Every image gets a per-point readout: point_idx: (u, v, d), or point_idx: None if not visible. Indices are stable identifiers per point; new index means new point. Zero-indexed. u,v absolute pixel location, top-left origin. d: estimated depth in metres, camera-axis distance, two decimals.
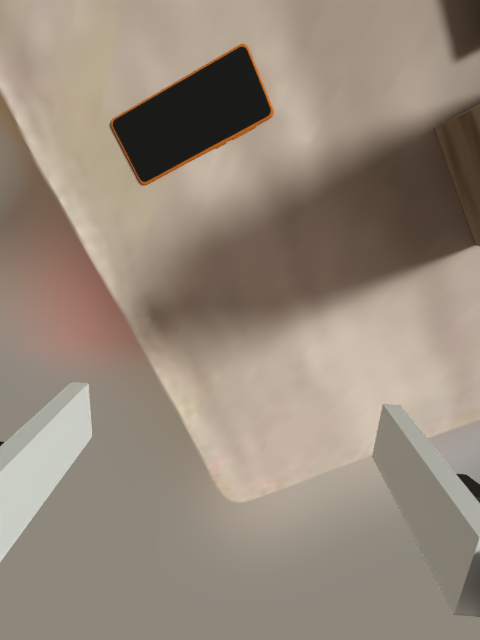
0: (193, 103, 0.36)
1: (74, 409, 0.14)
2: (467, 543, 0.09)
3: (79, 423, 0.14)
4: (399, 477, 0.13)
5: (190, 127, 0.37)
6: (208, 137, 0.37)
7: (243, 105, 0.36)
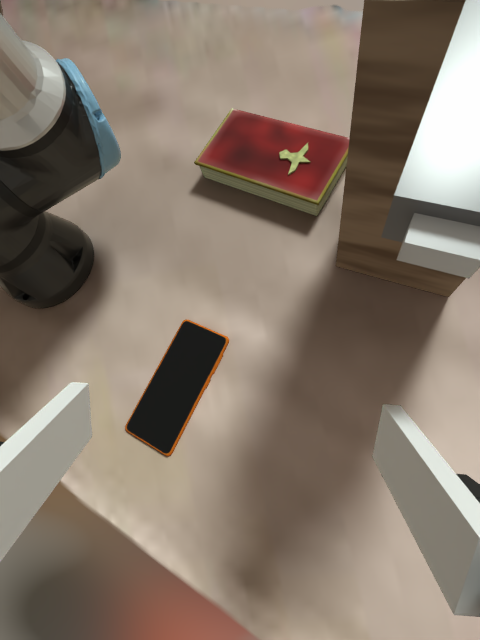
0: (173, 373, 0.45)
1: (74, 409, 0.14)
2: (467, 543, 0.09)
3: (79, 423, 0.14)
4: (399, 477, 0.13)
5: (180, 388, 0.44)
6: (196, 385, 0.44)
7: (206, 349, 0.45)
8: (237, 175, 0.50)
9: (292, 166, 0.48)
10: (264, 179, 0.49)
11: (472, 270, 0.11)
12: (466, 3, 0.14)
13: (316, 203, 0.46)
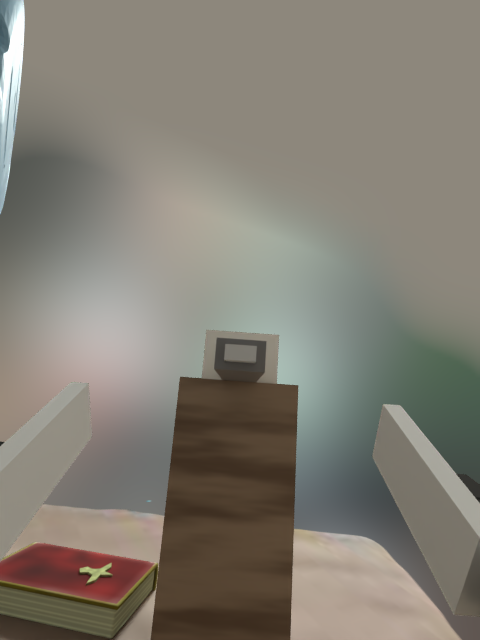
0: None
1: (74, 409, 0.14)
2: (467, 543, 0.09)
3: (79, 423, 0.14)
4: (399, 477, 0.13)
5: None
6: None
7: None
8: (22, 585, 0.43)
9: (92, 577, 0.45)
10: (56, 588, 0.42)
11: (254, 354, 0.26)
12: None
13: (115, 607, 0.40)
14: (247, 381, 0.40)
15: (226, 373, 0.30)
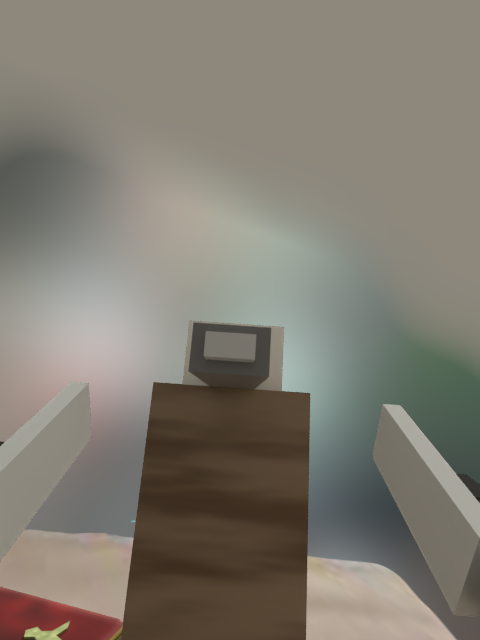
0: None
1: (74, 409, 0.14)
2: (467, 543, 0.09)
3: (79, 423, 0.14)
4: (399, 477, 0.13)
5: None
6: None
7: None
8: None
9: None
10: None
11: (253, 348, 0.16)
12: None
13: None
14: (242, 388, 0.30)
15: (211, 378, 0.21)
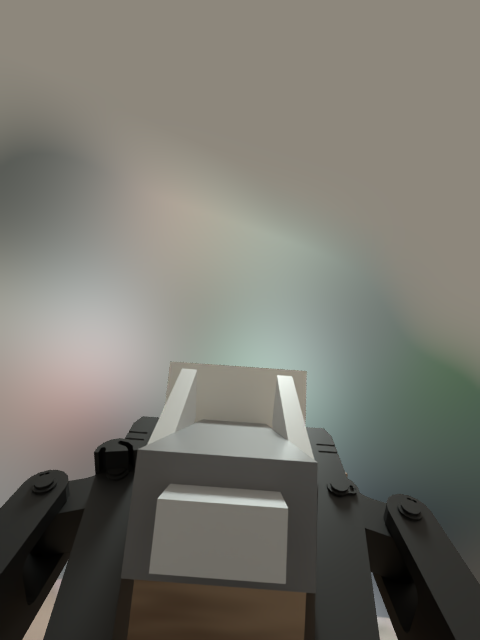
0: None
1: (192, 391, 0.16)
2: None
3: (193, 404, 0.16)
4: None
5: None
6: None
7: None
8: None
9: None
10: None
11: (281, 549, 0.06)
12: (194, 424, 0.17)
13: None
14: None
15: None
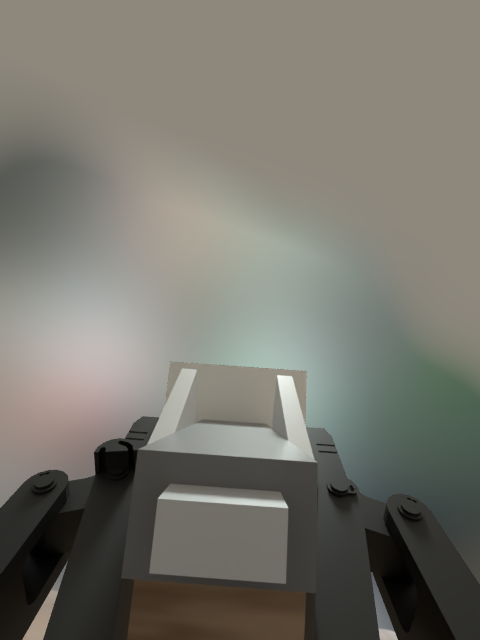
0: None
1: (192, 391, 0.16)
2: None
3: (193, 404, 0.16)
4: None
5: None
6: None
7: None
8: None
9: None
10: None
11: (281, 549, 0.06)
12: (194, 424, 0.17)
13: None
14: None
15: None
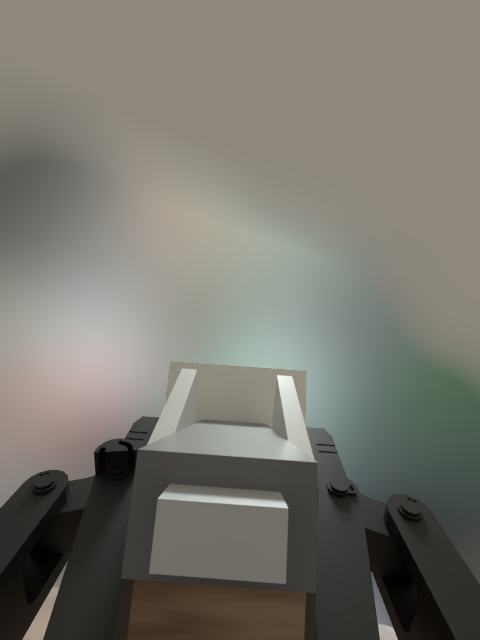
0: None
1: (192, 391, 0.16)
2: None
3: (193, 404, 0.16)
4: None
5: None
6: None
7: None
8: None
9: None
10: None
11: (281, 549, 0.06)
12: (194, 424, 0.17)
13: None
14: None
15: None
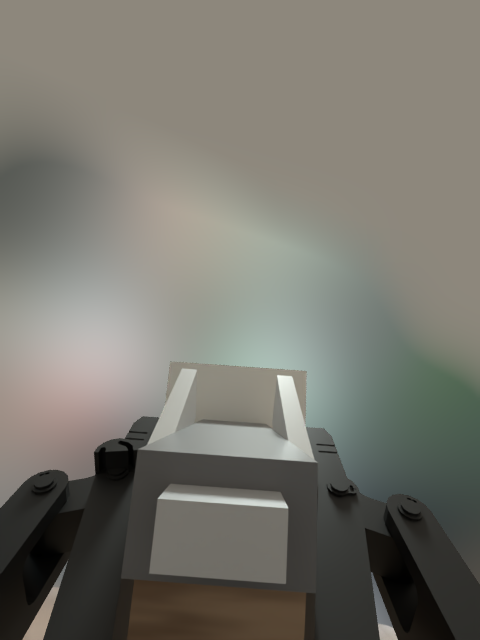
0: None
1: (192, 391, 0.16)
2: None
3: (193, 404, 0.16)
4: None
5: None
6: None
7: None
8: None
9: None
10: None
11: (281, 549, 0.06)
12: (194, 424, 0.17)
13: None
14: None
15: None
